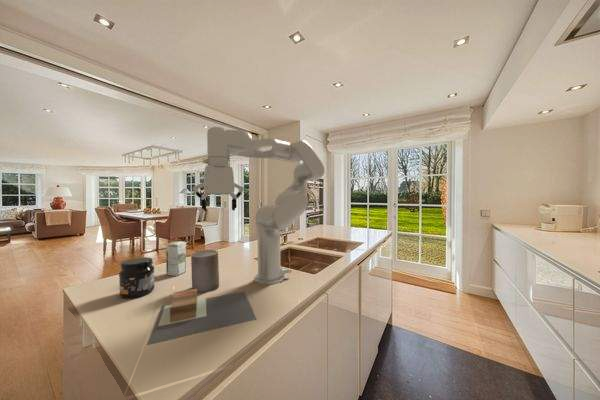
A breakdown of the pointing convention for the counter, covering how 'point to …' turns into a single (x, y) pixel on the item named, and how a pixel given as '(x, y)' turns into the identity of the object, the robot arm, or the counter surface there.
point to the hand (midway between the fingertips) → (219, 210)
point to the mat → (204, 317)
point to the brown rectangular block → (183, 305)
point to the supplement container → (136, 277)
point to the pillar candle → (205, 271)
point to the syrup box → (175, 258)
